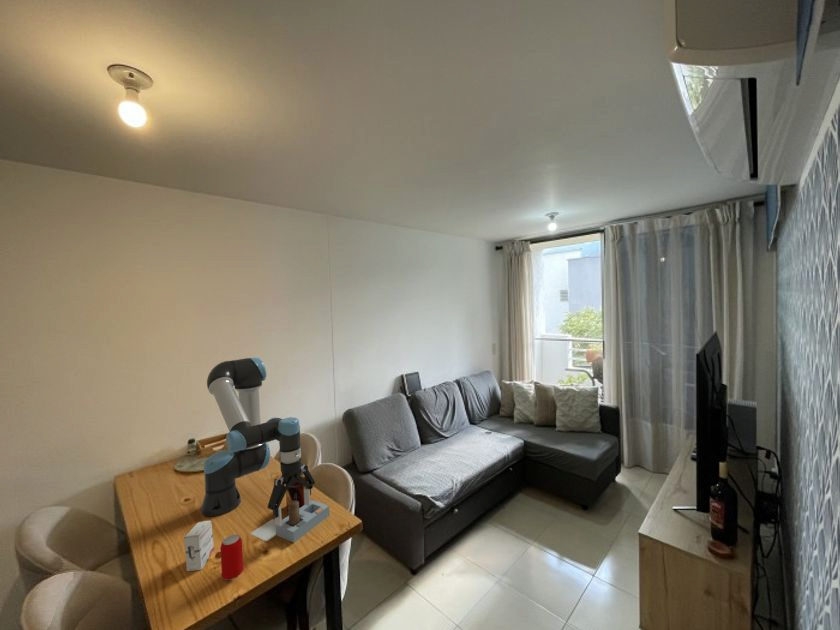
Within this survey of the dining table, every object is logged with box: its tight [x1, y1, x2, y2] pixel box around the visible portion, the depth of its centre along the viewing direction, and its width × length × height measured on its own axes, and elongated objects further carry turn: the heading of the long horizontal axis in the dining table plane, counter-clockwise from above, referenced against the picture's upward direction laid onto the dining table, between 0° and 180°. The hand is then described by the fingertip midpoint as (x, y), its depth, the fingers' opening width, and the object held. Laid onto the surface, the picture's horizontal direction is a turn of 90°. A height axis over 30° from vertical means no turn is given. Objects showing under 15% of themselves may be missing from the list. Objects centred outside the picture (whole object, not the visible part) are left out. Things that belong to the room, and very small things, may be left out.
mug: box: [285, 475, 308, 513], centre depth 144 cm, size 10×14×12 cm
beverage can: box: [219, 534, 244, 581], centre depth 110 cm, size 6×6×12 cm
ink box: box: [183, 520, 215, 572], centre depth 116 cm, size 9×5×12 cm, turn 5°
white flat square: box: [249, 518, 277, 542], centre depth 131 cm, size 10×10×1 cm
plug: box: [288, 500, 300, 527], centre depth 129 cm, size 4×4×12 cm
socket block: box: [275, 499, 330, 544], centre depth 133 cm, size 10×18×5 cm, turn 151°
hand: (293, 514), depth 129 cm, fingers open, 13 cm apart
